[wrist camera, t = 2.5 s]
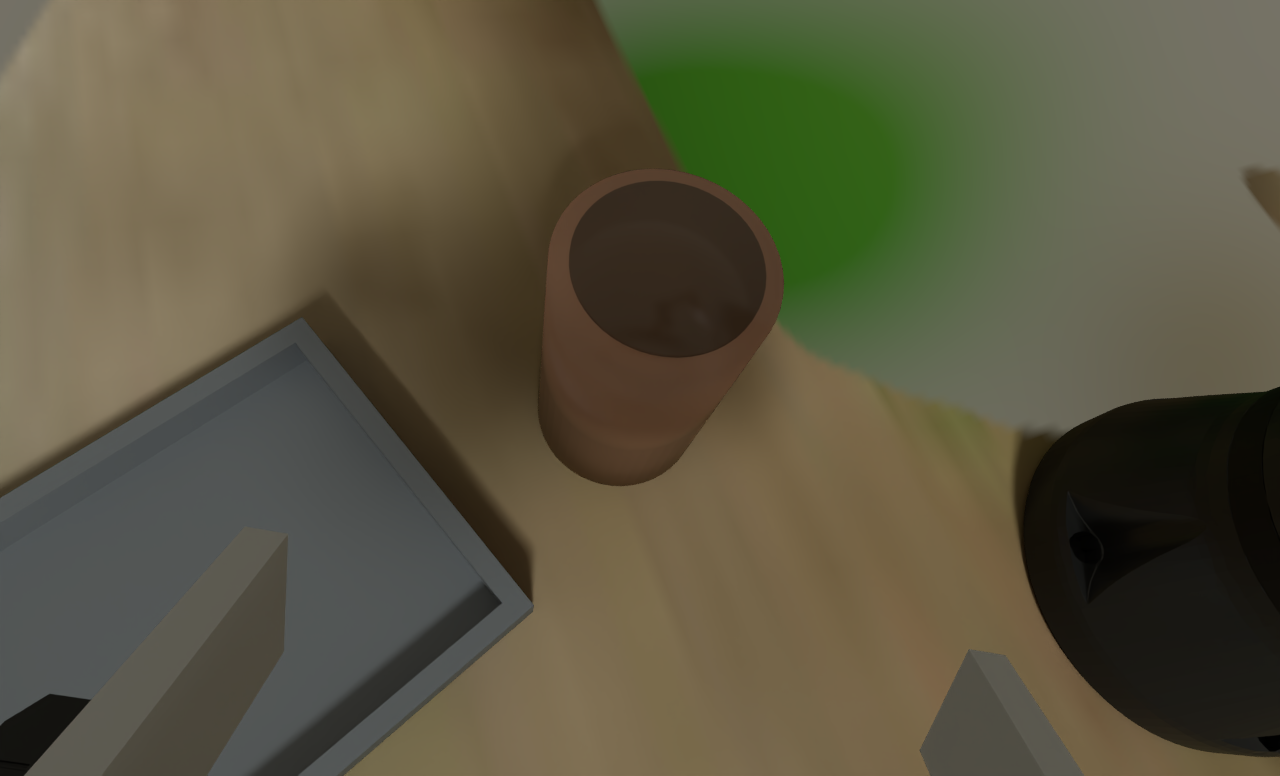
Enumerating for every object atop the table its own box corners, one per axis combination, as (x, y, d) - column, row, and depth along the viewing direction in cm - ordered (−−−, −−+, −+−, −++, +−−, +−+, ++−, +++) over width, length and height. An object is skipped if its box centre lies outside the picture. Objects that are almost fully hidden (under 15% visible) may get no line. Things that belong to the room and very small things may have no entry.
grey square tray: (532, 611, 29) (533, 605, 26) (78, 1004, 22) (28, 1041, 20) (317, 343, 31) (302, 317, 29) (-141, 627, 25) (-207, 621, 23)
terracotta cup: (726, 420, 33) (832, 284, 22) (609, 519, 30) (662, 424, 19) (624, 310, 34) (675, 129, 23) (504, 396, 32) (496, 240, 21)
